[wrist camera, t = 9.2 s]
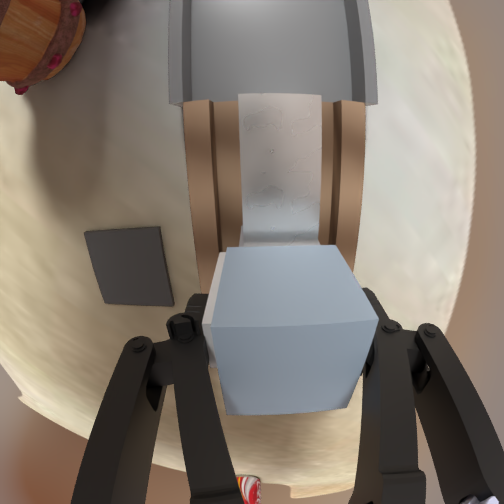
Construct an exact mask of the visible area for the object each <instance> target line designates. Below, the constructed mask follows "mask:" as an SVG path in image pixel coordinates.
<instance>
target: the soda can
mask: <svg viewBox="0 0 504 504" xmlns="http://www.w3.org/2000/svg"><path fill="white" fill-rule="evenodd" d="M236 478H237V481H238V484H239V488H240V491H241V494H242V497H243V500H244V503H245V504H261V485H260V480H259V479H258V478H256V477H255V476H251V475H236Z"/></svg>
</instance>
